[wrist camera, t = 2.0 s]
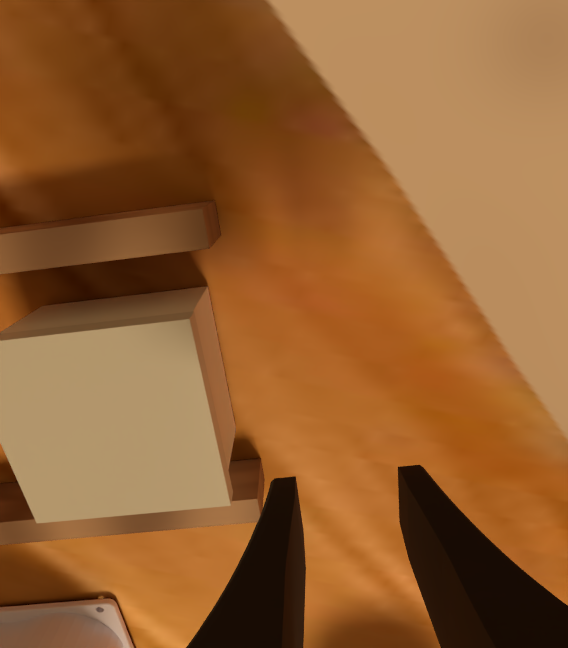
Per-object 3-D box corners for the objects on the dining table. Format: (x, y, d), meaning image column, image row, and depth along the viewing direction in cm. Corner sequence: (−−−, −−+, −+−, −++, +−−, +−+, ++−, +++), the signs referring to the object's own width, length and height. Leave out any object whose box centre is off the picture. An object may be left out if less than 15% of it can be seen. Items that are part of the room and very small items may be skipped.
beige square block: (87, 448, 23) (36, 523, 19) (34, 300, 20) (-43, 345, 15) (242, 432, 23) (230, 505, 18) (212, 279, 20) (189, 319, 15)
